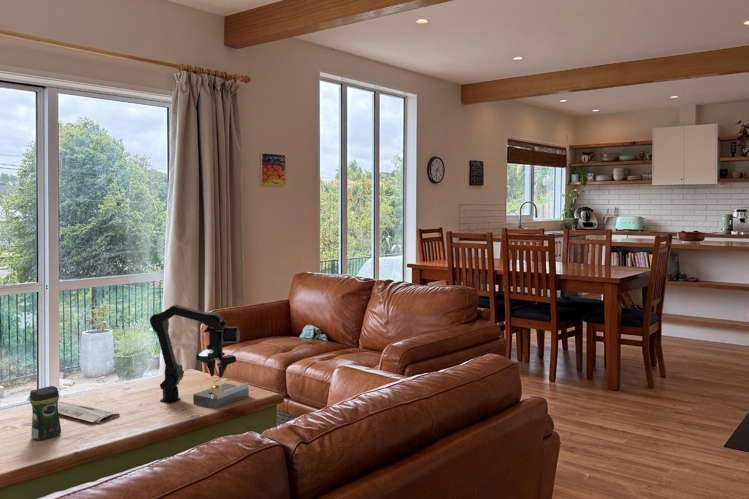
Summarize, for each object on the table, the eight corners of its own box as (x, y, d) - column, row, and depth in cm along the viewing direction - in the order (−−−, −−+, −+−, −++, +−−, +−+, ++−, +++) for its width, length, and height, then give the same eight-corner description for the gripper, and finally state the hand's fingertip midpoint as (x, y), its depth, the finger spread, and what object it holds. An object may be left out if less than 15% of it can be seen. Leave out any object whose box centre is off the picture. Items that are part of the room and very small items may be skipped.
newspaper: (119, 417, 263) (119, 409, 262) (94, 427, 251) (94, 418, 251) (61, 405, 278) (61, 397, 278) (35, 413, 267) (35, 405, 267)
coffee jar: (54, 430, 246) (52, 383, 245) (64, 435, 241) (62, 386, 240) (28, 437, 239) (26, 388, 237) (37, 442, 234) (35, 392, 232)
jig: (193, 403, 279) (193, 389, 279) (225, 391, 296) (225, 378, 296) (217, 408, 272) (217, 394, 272) (248, 396, 290) (248, 383, 289)
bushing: (209, 402, 281) (209, 386, 280) (216, 399, 285) (216, 383, 284) (217, 403, 279) (216, 387, 278) (224, 401, 282) (223, 385, 282)
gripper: (186, 343, 277) (187, 378, 279) (218, 348, 268) (219, 384, 269) (205, 338, 287) (205, 372, 288) (236, 342, 278) (237, 378, 279)
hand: (216, 377), depth 281 cm, fingers open, 5 cm apart
